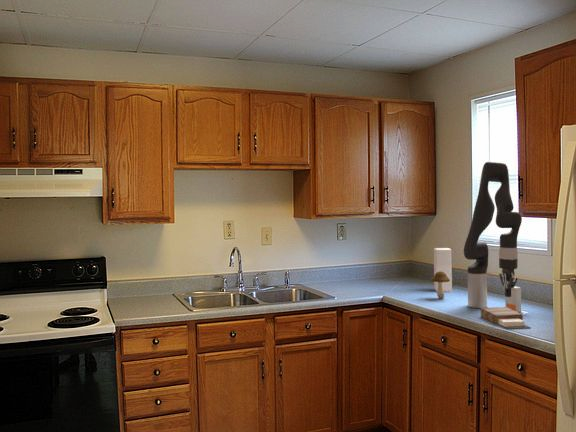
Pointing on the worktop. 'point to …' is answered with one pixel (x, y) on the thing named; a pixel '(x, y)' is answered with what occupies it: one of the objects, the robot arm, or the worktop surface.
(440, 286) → the mushroom
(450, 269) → the tall white carton
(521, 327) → the mat
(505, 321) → the cream rectangular block
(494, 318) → the brown flat block
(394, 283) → the worktop surface
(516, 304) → the skincare box
